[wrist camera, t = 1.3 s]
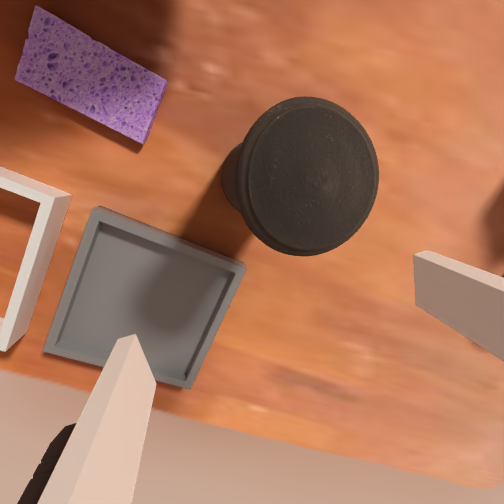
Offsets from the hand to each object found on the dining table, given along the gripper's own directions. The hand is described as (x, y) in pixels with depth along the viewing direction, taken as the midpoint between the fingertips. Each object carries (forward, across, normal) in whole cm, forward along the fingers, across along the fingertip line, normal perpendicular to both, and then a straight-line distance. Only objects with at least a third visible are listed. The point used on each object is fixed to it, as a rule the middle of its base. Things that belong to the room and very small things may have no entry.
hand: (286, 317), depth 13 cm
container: (+24, +4, +5) cm, 25 cm away
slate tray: (+24, -12, -7) cm, 27 cm away
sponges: (+25, -10, +18) cm, 32 cm away
